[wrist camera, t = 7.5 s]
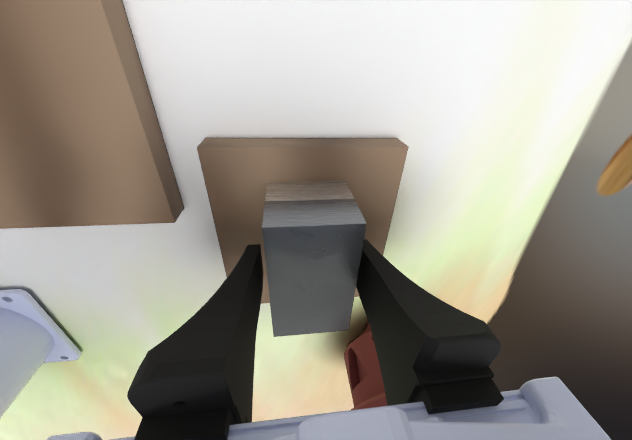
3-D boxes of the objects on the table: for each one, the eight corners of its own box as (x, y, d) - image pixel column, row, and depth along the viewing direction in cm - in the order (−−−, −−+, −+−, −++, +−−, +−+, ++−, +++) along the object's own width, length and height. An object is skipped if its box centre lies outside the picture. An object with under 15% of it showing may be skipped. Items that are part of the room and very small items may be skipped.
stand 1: (-13, 213, 14) (-43, 230, 12) (-270, -103, 7) (-380, -134, 6) (183, 208, 15) (174, 222, 13) (100, -72, 9) (69, -93, 7)
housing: (275, 279, 17) (273, 336, 13) (266, 181, 13) (262, 227, 9) (335, 275, 17) (348, 330, 14) (345, 180, 13) (366, 223, 10)
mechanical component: (328, 367, 27) (320, 309, 21) (420, 352, 27) (436, 291, 22) (357, 562, 17) (356, 548, 11) (502, 533, 17) (574, 505, 11)
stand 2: (236, 288, 19) (233, 305, 17) (205, 138, 13) (197, 147, 11) (367, 280, 20) (373, 295, 19) (396, 138, 14) (408, 146, 12)
